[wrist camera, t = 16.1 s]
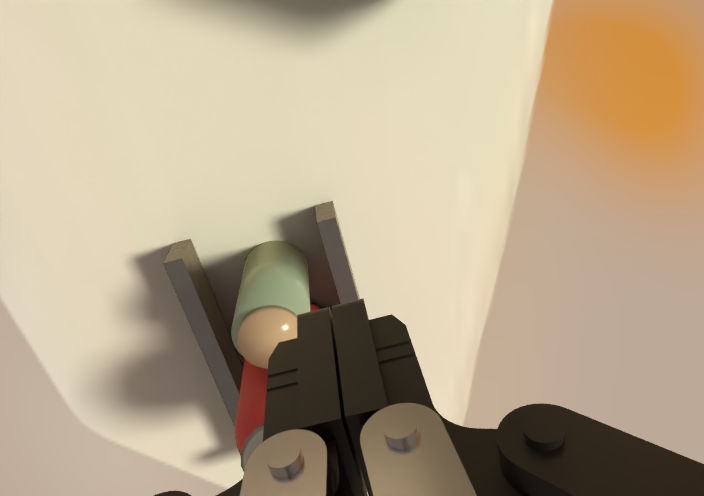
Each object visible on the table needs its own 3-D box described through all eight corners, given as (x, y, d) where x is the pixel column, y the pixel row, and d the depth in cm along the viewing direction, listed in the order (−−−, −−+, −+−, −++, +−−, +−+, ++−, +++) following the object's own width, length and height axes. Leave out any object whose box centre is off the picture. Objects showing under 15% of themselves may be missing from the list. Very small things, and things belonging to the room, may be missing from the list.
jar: (233, 252, 37) (216, 320, 29) (295, 232, 37) (295, 295, 29) (257, 306, 39) (247, 384, 30) (316, 287, 38) (322, 360, 30)
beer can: (242, 367, 40) (222, 500, 30) (255, 289, 38) (240, 403, 27) (328, 378, 42) (340, 510, 31) (347, 303, 39) (368, 418, 28)
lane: (173, 243, 36) (155, 277, 31) (332, 201, 36) (338, 229, 31) (257, 443, 43) (253, 494, 39) (390, 408, 43) (401, 455, 39)
